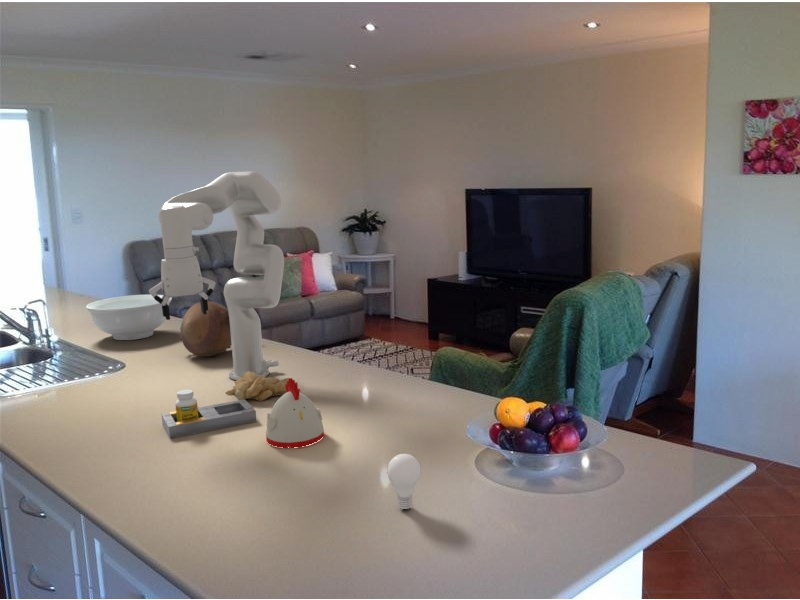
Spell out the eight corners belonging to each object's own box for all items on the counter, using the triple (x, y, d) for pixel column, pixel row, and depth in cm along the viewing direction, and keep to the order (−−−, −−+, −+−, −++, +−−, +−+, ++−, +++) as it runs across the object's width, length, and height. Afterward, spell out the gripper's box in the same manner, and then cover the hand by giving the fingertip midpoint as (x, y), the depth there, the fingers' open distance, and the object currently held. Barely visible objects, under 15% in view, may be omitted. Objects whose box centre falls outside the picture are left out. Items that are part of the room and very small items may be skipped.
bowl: (103, 329, 309) (99, 295, 306) (181, 325, 312) (178, 291, 310) (79, 348, 277) (74, 310, 275) (166, 343, 281) (162, 306, 278)
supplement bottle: (195, 422, 192) (192, 387, 190) (202, 427, 187) (199, 392, 185) (175, 426, 189) (171, 391, 187) (181, 432, 184) (177, 396, 182)
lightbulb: (387, 502, 142) (385, 449, 140) (420, 500, 143) (418, 447, 140) (390, 518, 136) (387, 462, 134) (423, 515, 136) (422, 460, 134)
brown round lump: (199, 366, 246) (262, 359, 271) (210, 310, 243) (273, 309, 268) (161, 347, 257) (226, 343, 282) (171, 293, 254) (235, 294, 279)
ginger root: (215, 394, 210) (219, 366, 210) (260, 393, 222) (265, 367, 222) (248, 407, 199) (252, 378, 199) (294, 406, 211) (298, 378, 211)
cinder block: (245, 409, 200) (244, 398, 199) (256, 421, 190) (255, 409, 190) (162, 425, 190) (161, 413, 190) (169, 438, 181) (168, 426, 180)
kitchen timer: (276, 453, 169) (272, 391, 166) (259, 435, 181) (255, 377, 178) (332, 441, 175) (329, 381, 172) (312, 424, 187) (308, 368, 184)
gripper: (208, 248, 199) (214, 308, 203) (142, 255, 191) (150, 318, 195) (215, 251, 193) (221, 314, 196) (147, 258, 185) (155, 324, 189)
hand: (186, 316), depth 196 cm, fingers open, 9 cm apart
